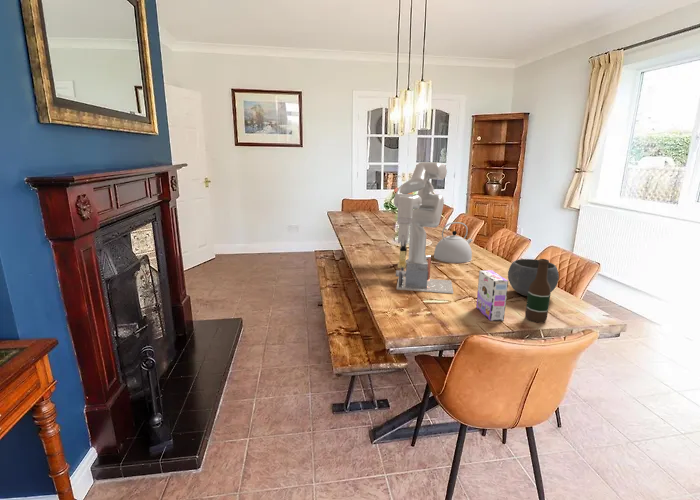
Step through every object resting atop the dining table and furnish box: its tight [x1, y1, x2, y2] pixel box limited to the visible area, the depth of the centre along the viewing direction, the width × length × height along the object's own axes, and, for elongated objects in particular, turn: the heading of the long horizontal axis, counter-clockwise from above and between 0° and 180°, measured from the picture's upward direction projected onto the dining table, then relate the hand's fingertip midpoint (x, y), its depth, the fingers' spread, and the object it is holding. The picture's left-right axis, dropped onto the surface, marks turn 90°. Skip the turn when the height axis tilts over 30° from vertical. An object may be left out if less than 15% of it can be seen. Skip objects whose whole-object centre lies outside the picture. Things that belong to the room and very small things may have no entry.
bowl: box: [507, 258, 560, 297], centre depth 170 cm, size 20×20×15 cm
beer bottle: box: [524, 258, 552, 324], centre depth 143 cm, size 8×8×24 cm
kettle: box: [433, 221, 473, 264], centre depth 230 cm, size 25×23×23 cm
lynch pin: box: [395, 257, 432, 281], centre depth 181 cm, size 16×5×11 cm, turn 79°
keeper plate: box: [397, 250, 407, 269], centre depth 187 cm, size 4×7×7 cm, turn 169°
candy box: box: [476, 269, 509, 322], centre depth 149 cm, size 14×6×16 cm, turn 5°
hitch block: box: [396, 263, 454, 294], centre depth 182 cm, size 26×18×9 cm
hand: (403, 255), depth 195 cm, fingers closed
